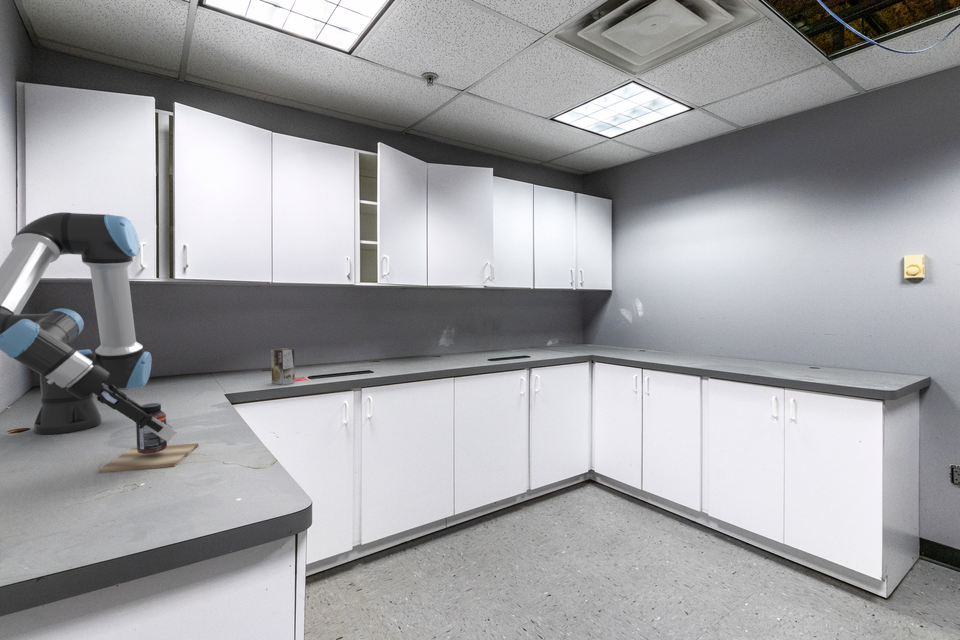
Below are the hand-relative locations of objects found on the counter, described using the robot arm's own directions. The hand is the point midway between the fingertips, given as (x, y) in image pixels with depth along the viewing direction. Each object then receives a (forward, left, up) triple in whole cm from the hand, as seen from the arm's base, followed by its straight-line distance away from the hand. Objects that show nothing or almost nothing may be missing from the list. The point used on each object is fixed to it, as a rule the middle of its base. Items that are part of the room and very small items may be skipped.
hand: (169, 433), depth 112 cm
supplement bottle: (+2, -3, -4) cm, 5 cm away
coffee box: (-100, +9, -6) cm, 100 cm away
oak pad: (+2, -3, -5) cm, 6 cm away
